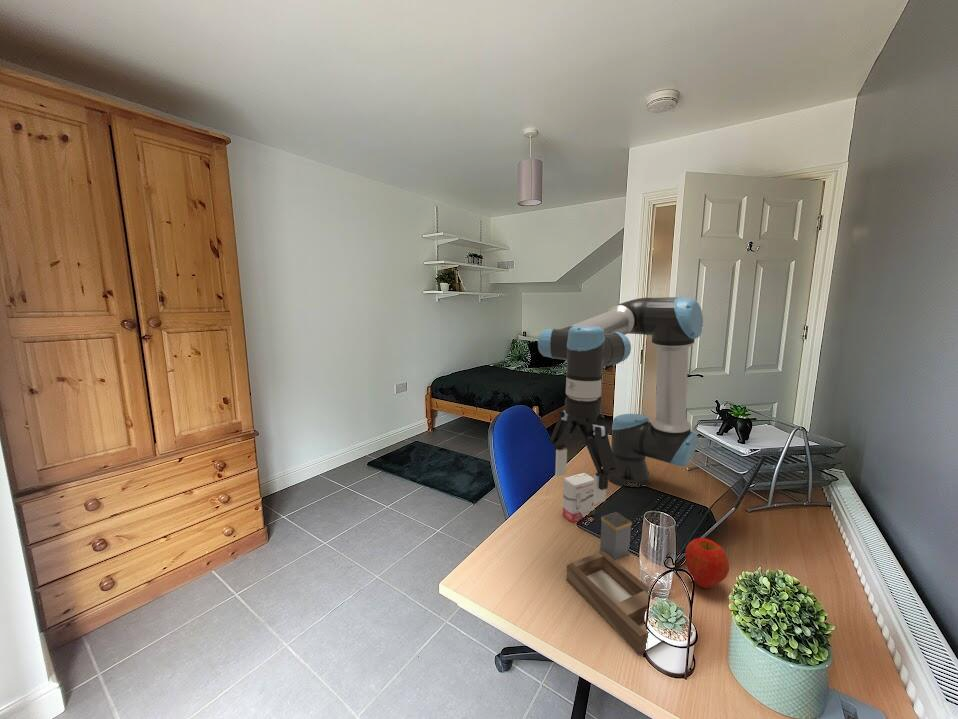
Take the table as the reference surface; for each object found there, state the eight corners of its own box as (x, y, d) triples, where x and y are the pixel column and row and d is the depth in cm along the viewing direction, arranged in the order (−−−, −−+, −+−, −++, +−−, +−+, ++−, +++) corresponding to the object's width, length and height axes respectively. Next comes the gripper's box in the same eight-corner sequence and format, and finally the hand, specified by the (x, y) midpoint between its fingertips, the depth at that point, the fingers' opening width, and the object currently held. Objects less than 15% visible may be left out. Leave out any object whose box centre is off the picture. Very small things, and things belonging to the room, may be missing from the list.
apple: (735, 595, 84) (740, 551, 82) (703, 604, 82) (708, 558, 80) (703, 569, 92) (707, 528, 90) (674, 575, 90) (677, 534, 88)
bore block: (602, 565, 94) (603, 550, 93) (679, 632, 75) (681, 614, 74) (566, 580, 89) (566, 564, 88) (639, 655, 70) (640, 636, 70)
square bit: (614, 542, 102) (616, 511, 101) (629, 554, 97) (631, 522, 96) (599, 548, 100) (601, 517, 98) (614, 560, 95) (616, 527, 94)
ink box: (572, 523, 111) (573, 485, 109) (561, 514, 115) (562, 478, 113) (594, 515, 115) (596, 478, 113) (583, 507, 119) (585, 472, 117)
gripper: (537, 386, 94) (535, 468, 97) (610, 414, 71) (603, 519, 74) (562, 383, 97) (559, 463, 100) (640, 409, 74) (632, 511, 77)
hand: (578, 487), depth 87 cm, fingers open, 13 cm apart
